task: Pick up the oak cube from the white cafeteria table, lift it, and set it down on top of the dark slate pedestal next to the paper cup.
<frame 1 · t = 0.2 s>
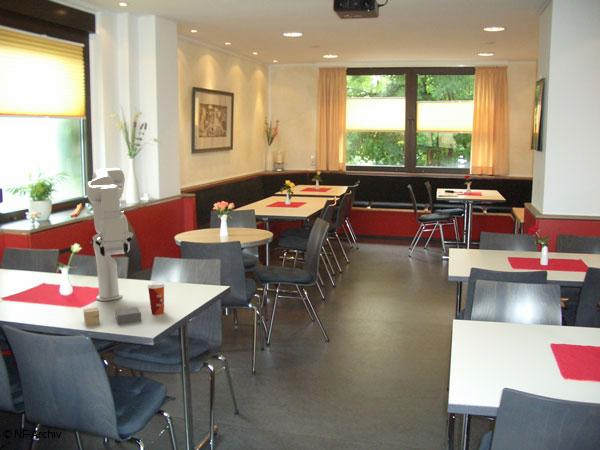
hand: (114, 254, 277), 30 cm above the table, fingers open, 9 cm apart
oak cube: (92, 322, 281), on the table
paper cup: (158, 313, 293), on the table
slate pedestal: (128, 319, 283), on the table
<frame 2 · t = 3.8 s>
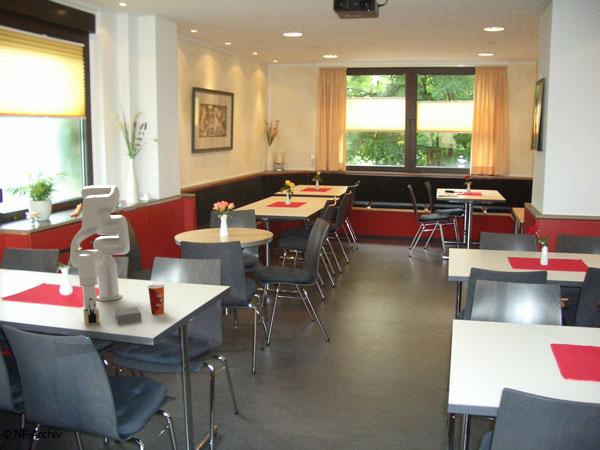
hand: (91, 320, 281), 1 cm above the table, fingers closed on oak cube, 6 cm apart
oak cube: (92, 322, 281), on the table, touching gripper
everything else where it was.
when the fingers open (6 cm above the table, at t = 9.0 s): oak cube drops 1 cm, resting on slate pedestal.
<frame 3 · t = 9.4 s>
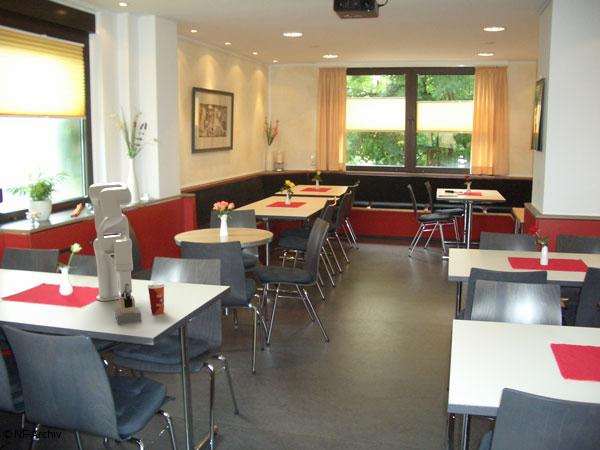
hand: (126, 304, 282), 7 cm above the table, fingers open, 9 cm apart
oak cube: (127, 311, 283), point 4 cm above the table, touching slate pedestal
everything else where it was.
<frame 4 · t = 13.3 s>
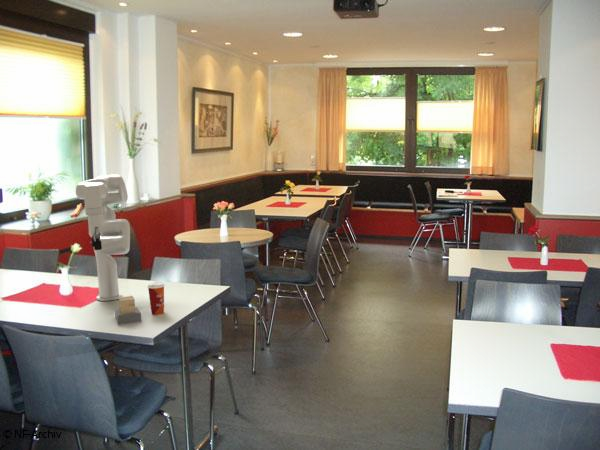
hand: (97, 248, 294), 30 cm above the table, fingers open, 9 cm apart
nothing on the table moved.
at the end: oak cube inside the target area on the slate pedestal (0.0 cm from its centre), point 4.0 cm above the slate pedestal's base; oak cube tilted 0°; the gripper is holding nothing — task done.
